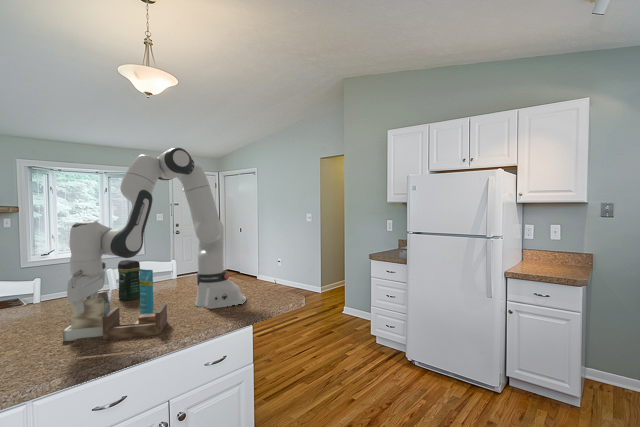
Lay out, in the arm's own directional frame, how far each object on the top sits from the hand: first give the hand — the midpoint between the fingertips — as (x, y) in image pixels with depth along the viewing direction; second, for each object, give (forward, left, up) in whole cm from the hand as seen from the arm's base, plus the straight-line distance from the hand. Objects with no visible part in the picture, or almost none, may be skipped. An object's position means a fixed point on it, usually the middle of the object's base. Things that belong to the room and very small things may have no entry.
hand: (87, 308), depth 113 cm
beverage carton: (+8, -29, -10) cm, 32 cm away
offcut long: (-18, -2, -9) cm, 20 cm away
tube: (-14, -16, -10) cm, 24 cm away
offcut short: (-18, -2, -7) cm, 20 cm away
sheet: (0, 0, -9) cm, 9 cm away
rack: (-16, +1, -10) cm, 18 cm away
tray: (0, 0, -10) cm, 10 cm away
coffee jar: (+1, -47, -10) cm, 49 cm away
